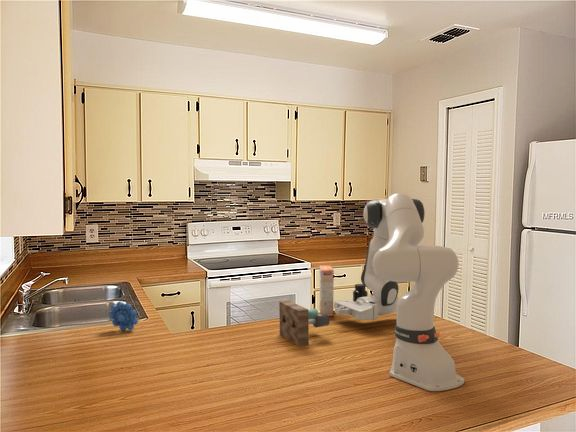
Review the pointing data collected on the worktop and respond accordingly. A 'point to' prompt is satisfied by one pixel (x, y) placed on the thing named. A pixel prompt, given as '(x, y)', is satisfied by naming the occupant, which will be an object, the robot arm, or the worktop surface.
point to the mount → (287, 326)
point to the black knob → (319, 320)
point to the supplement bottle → (359, 292)
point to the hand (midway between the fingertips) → (336, 311)
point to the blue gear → (123, 316)
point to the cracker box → (326, 289)
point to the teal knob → (311, 313)
